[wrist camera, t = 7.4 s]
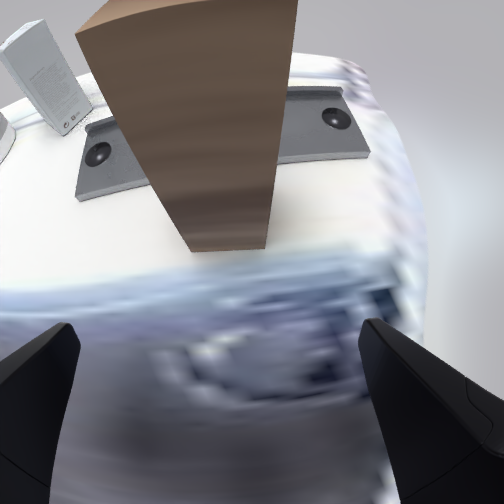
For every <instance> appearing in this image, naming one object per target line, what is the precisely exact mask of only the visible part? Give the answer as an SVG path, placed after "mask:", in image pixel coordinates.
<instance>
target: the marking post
mask: <svg viewBox="0 0 504 504" xmlns="http://www.w3.org/2000/svg"><path fill="white" fill-rule="evenodd" d="M297 4H298V0H109V1H108V2H107V3H106V4H104V5H103V6H102V7H101V8H100V9H99V10H98V11H97V12H96V13H95V14H94V15H93V16H92V17H91V18H90V19H89V20H88V21H87V22H86V23H85V24H84V25H83V26H82V27H81V28H80V29H79V30H78V31H77V32H76V33H75V36H76V38H77V41H78V43H79V45H80V48H81V50H82V52H83V54H84V56H85V59H86V61H87V63H88V65H89V67H90V69H91V72H92V74H93V76H94V78H95V80H96V82H97V84H98V86H99V88H100V90H101V92H102V94H103V96H104V98H105V100H106V102H107V104H108V106H109V108H110V110H111V112H112V114H113V116H114V118H115V120H116V122H117V124H118V126H119V128H120V130H121V132H122V133H123V135H124V137H125V139H126V141H127V143H128V145H129V146H130V148H131V150H132V152H133V154H134V156H135V157H136V159H137V161H138V163H139V165H140V166H141V168H142V170H143V172H144V174H145V175H146V177H147V179H148V181H149V182H150V184H151V186H152V188H153V189H154V191H155V193H156V194H157V196H158V198H159V200H160V201H161V203H162V205H163V206H164V208H165V210H166V211H167V213H168V215H169V216H170V218H171V220H172V221H173V223H174V225H175V226H176V228H177V230H178V231H179V233H180V235H181V236H182V238H183V239H184V241H185V243H186V244H187V246H188V247H189V249H190V251H191V252H206V251H228V250H249V249H265V244H266V237H267V231H268V224H269V217H270V210H271V203H272V196H273V189H274V182H275V175H276V168H277V161H278V154H279V147H280V139H281V132H282V125H283V117H284V110H285V102H286V94H287V87H288V79H289V71H290V63H291V55H292V47H293V39H294V31H295V22H296V14H297Z"/></svg>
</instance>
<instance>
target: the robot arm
mask: <svg viewBox="0 0 504 504" xmlns="http://www.w3.org/2000/svg"><path fill="white" fill-rule="evenodd" d="M358 347H359V351H360V355H361V359H362V364H363V368H364V373H365V378H366V382H367V386H368V390H369V394H370V397H371V400H372V403H373V406H374V409H375V412H376V415H377V418H378V422H379V425H380V428H381V431H382V435H383V438H384V441H385V445H386V448H387V452H388V455H389V459H390V463H391V466H392V470H393V474H394V478H395V482H396V486H397V490H398V494H399V498H400V501H401V502H400V503H401V504H504V400H502V399H500V398H498V397H497V396H495V395H493V394H492V393H490V392H488V391H487V390H485V389H484V388H482V387H480V386H479V385H478V384H476V383H475V382H473V381H471V380H470V379H469V378H467V377H465V376H464V375H463V374H461V373H460V372H458V371H457V370H456V369H454V368H453V367H451V366H450V365H448V364H447V363H445V362H444V361H442V360H441V359H439V358H438V357H436V356H435V355H433V354H432V353H431V352H429V351H428V350H426V349H425V348H423V347H422V346H420V345H419V344H417V343H416V342H414V341H413V340H411V339H410V338H408V337H407V336H405V335H404V334H402V333H401V332H399V331H398V330H396V329H395V328H393V327H392V326H390V325H389V324H387V323H386V322H384V321H383V320H381V319H380V318H377V317H375V318H367V319H365V320H364V322H363V325H362V328H361V332H360V336H359V339H358ZM80 349H81V344H80V341H79V339H78V337H77V335H76V333H75V331H74V328H73V326H72V325H71V324H70V323H64V322H60V323H58V324H56V325H55V326H53V327H51V328H50V329H48V330H47V331H45V332H44V333H42V334H41V335H39V336H37V337H36V338H34V339H33V340H31V341H30V342H28V343H27V344H25V345H24V346H22V347H21V348H19V349H18V350H16V351H15V352H13V353H12V354H10V355H9V356H8V357H6V358H5V359H3V360H2V361H0V504H49V497H50V487H51V479H52V472H53V466H54V460H55V455H56V450H57V445H58V440H59V435H60V431H61V427H62V422H63V418H64V414H65V411H66V407H67V403H68V400H69V396H70V393H71V389H72V385H73V380H74V375H75V371H76V366H77V362H78V357H79V353H80Z"/></svg>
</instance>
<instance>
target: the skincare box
mask: <svg viewBox="0 0 504 504" xmlns="http://www.w3.org/2000/svg"><path fill="white" fill-rule="evenodd" d="M0 59H1V61H2V62H3V64H4V65H5V67H6V68H7V70H8V71H9V73H10V74H11V76H12V77H13V79H14V80H15V81H16V83H17V84H18V85H19V87H20V88H21V90H22V91H23V92H24V94H25V95H26V96H27V98H28V99H29V100H30V102H31V103H32V104H33V106H34V107H35V108H36V110H37V111H38V112H39V113H40V115H41V116H42V117H43V118H44V120H45V121H46V122H47V123H48V124H50V125H51V126H52V127H53V128H54V129H55V130H57V131H58V132H59V133H60V134H61V135H65V134H66V133H67V132H69V131H70V130H71V129H72V128H73V127H74V126H75V125H76V124H77V123H78V122H79V121H80V120H82V119H83V118H84V117H85V116H86V115H87V114H88V113H89V112H90V111H91V110H92V105H91V104H90V102H89V100H88V99H87V97H86V95H85V94H84V92H83V90H82V88H81V87H80V85H79V83H78V82H77V80H76V78H75V77H74V75H73V73H72V71H71V69H70V67H69V66H68V64H67V62H66V60H65V58H64V57H63V55H62V53H61V51H60V49H59V47H58V45H57V43H56V42H55V40H54V38H53V36H52V34H51V32H50V31H49V28H48V26H47V24H46V22H45V19H42V20H37V21H33V22H29V23H26V24H25V25H23V26H22V27H21V28H20V29H19V30H17V31H16V32H15V33H14V34H12V35H11V36H10V37H9V38H8V39H7V40H5V41H4V42H3V43H2V44H1V45H0Z"/></svg>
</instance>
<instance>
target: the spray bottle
mask: <svg viewBox="0 0 504 504" xmlns="http://www.w3.org/2000/svg"><path fill="white" fill-rule="evenodd" d="M14 139H15V130H14V128H13V127H12V126H11V124H10V123H9V122H8V121H7V119H6V118H5V117H4V116H3V115H2V113H1V112H0V163H1V162H2V160H3V159H4V158H5V156H6V155H7V153H8V152H9V150H10V148H11V146H12V144H13V142H14Z"/></svg>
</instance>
